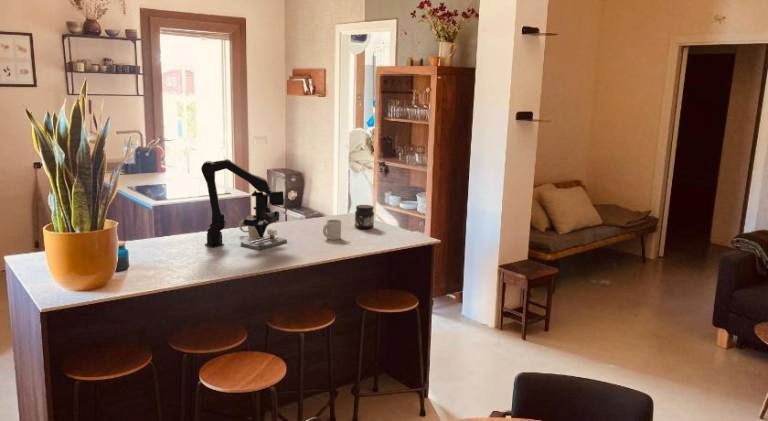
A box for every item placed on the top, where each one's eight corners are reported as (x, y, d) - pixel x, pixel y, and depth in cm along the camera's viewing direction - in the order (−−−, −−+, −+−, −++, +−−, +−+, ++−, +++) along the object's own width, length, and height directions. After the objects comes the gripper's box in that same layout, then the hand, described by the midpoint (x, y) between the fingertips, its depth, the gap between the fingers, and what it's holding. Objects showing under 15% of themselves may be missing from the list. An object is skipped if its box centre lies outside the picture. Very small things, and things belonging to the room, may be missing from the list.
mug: (261, 238, 300) (261, 219, 298) (236, 237, 301) (236, 217, 299) (265, 234, 309) (265, 215, 307) (240, 233, 309) (240, 214, 307)
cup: (343, 238, 307) (344, 221, 305) (326, 241, 301) (327, 223, 299) (335, 235, 313) (335, 219, 311) (319, 238, 306) (319, 221, 305)
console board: (259, 250, 280) (259, 245, 279) (240, 245, 286) (240, 241, 286) (286, 242, 296) (287, 238, 295) (268, 238, 302) (268, 234, 301)
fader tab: (274, 239, 293) (274, 230, 292) (267, 238, 295) (267, 229, 294) (277, 239, 295) (277, 229, 294) (270, 237, 297) (270, 228, 296)
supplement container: (353, 225, 337) (354, 204, 335) (371, 225, 339) (372, 204, 337) (355, 230, 327) (356, 208, 325) (375, 230, 329) (376, 208, 326)
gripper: (260, 210, 274) (260, 244, 277) (287, 205, 289) (287, 236, 292) (242, 207, 279) (242, 239, 282) (270, 201, 295) (269, 232, 298)
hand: (261, 237), depth 289 cm, fingers closed
